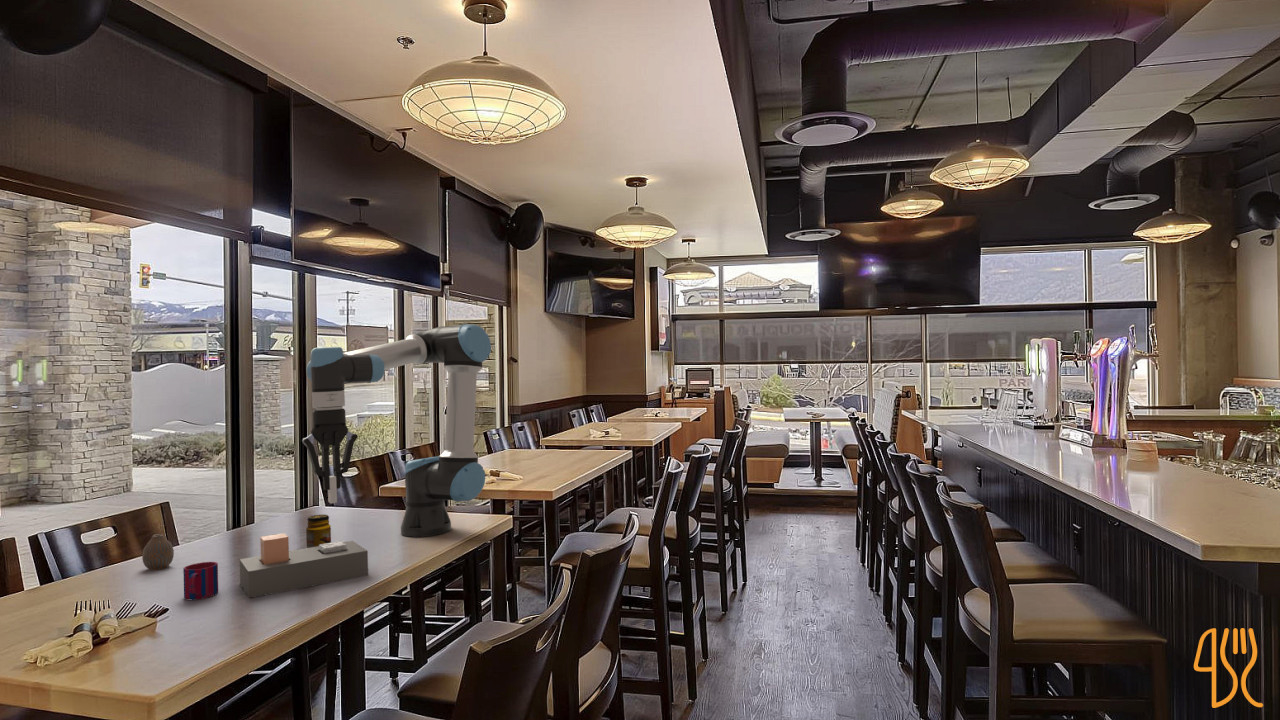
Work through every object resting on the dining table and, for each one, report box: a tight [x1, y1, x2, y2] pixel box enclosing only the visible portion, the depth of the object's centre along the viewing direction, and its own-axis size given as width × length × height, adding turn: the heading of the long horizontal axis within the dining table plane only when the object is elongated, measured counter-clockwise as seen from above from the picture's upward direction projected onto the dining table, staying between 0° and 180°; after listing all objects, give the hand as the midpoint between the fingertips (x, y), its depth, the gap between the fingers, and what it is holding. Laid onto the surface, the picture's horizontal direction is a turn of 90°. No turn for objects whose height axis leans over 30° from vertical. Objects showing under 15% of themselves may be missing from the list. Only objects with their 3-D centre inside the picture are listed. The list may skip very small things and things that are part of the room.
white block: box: [319, 540, 346, 554], centre depth 174 cm, size 5×5×6 cm
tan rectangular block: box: [259, 532, 290, 565], centre depth 167 cm, size 5×5×6 cm
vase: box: [141, 533, 175, 571], centre depth 186 cm, size 7×7×9 cm
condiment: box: [305, 514, 332, 548], centre depth 188 cm, size 7×8×12 cm
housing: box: [239, 540, 369, 599], centre depth 170 cm, size 26×14×6 cm, turn 127°
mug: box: [182, 561, 219, 601], centre depth 159 cm, size 7×10×7 cm
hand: (332, 502), depth 175 cm, fingers closed
